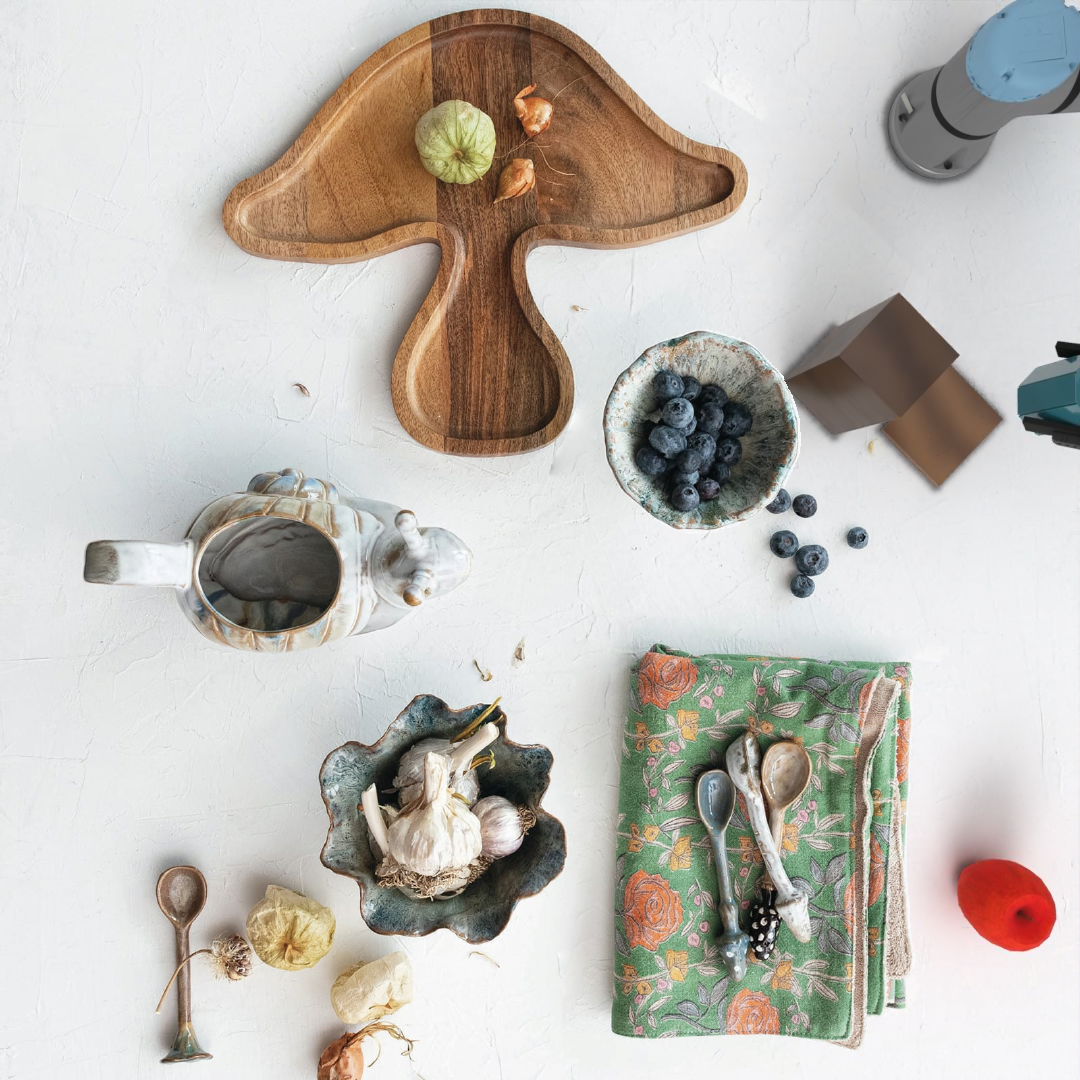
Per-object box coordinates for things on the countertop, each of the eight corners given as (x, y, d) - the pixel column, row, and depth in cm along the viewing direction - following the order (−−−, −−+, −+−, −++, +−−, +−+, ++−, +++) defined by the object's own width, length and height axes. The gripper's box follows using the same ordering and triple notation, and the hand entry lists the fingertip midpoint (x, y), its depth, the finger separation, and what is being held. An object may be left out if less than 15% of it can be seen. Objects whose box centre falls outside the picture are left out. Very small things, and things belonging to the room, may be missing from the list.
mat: (943, 362, 126) (947, 361, 125) (999, 419, 127) (1003, 418, 126) (879, 430, 125) (883, 429, 124) (935, 487, 126) (939, 486, 125)
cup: (1049, 352, 102) (1111, 333, 92) (1096, 401, 102) (1162, 387, 92) (1003, 401, 101) (1060, 387, 91) (1050, 449, 102) (1112, 441, 92)
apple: (1019, 910, 128) (1081, 955, 115) (945, 929, 127) (1000, 976, 114) (1004, 834, 128) (1065, 870, 114) (930, 853, 127) (983, 891, 114)
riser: (832, 329, 125) (899, 291, 105) (884, 382, 125) (960, 355, 105) (781, 382, 124) (838, 355, 104) (833, 435, 125) (900, 418, 105)
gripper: (1243, 537, 87) (1010, 481, 101) (1327, 345, 87) (1081, 317, 102) (1246, 515, 81) (998, 459, 96) (1335, 309, 81) (1074, 285, 96)
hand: (1041, 386), depth 99 cm, fingers closed on cup, 9 cm apart
